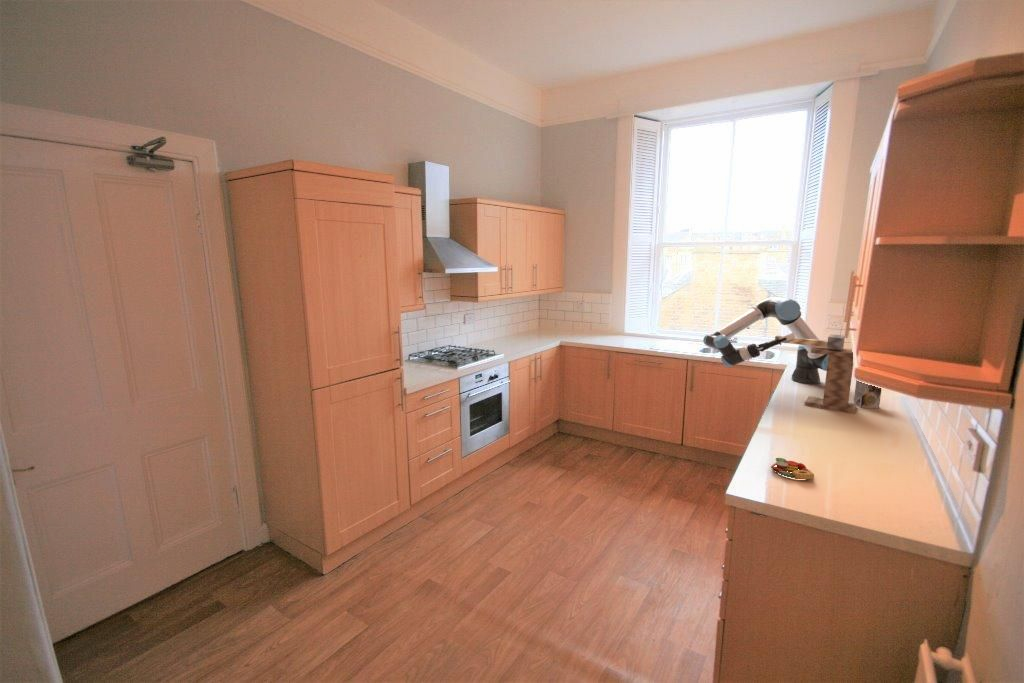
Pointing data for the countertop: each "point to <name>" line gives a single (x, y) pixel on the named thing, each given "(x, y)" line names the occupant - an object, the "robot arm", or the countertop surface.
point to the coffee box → (867, 395)
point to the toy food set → (792, 469)
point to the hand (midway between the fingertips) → (793, 335)
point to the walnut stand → (835, 381)
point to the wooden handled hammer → (819, 342)
